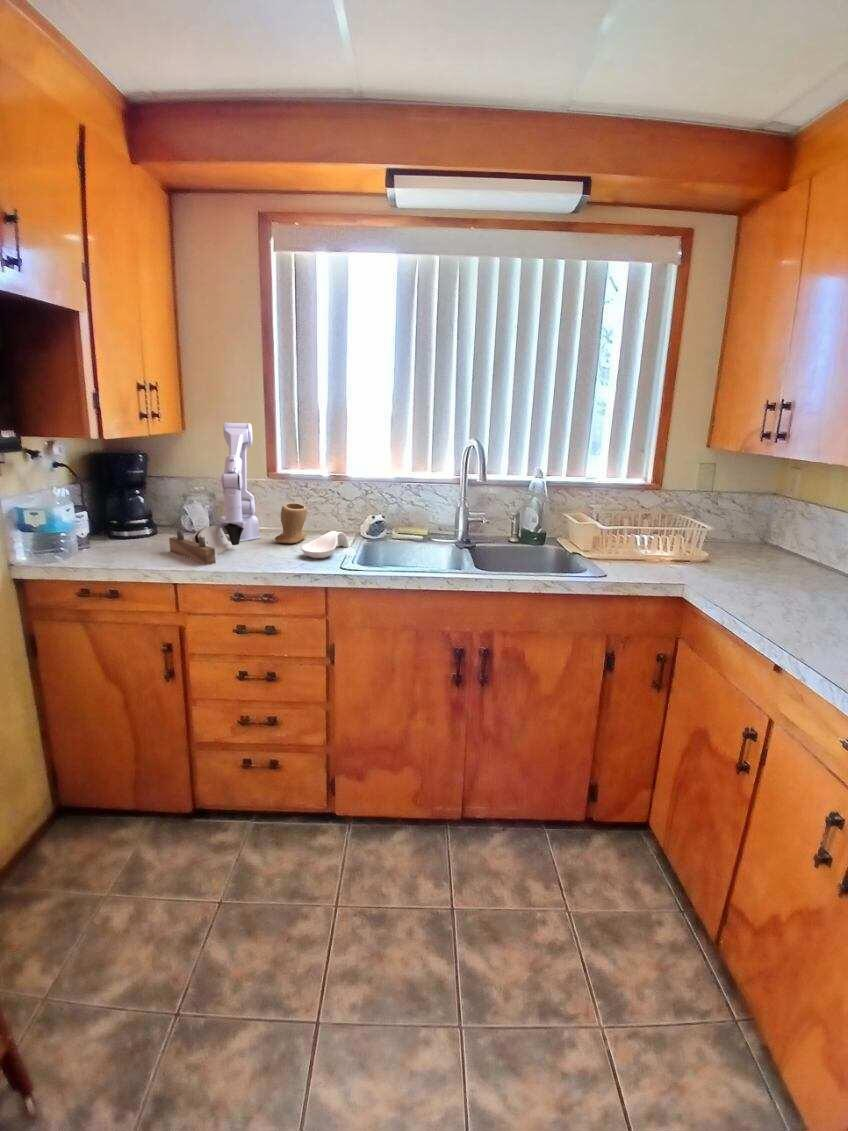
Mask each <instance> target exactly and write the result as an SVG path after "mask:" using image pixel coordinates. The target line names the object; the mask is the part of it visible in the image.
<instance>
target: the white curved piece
mask: <svg viewBox="0 0 848 1131" xmlns="http://www.w3.org/2000/svg"><path fill="white" fill-rule="evenodd" d="M226 536H227V535H226V534H225V532H224V530H223V528H222V527H221V526H219V525H211V526H206V527H203V528H201V529H199V530H198V531H196V532H194V534H193V536H191V539H192V540H191V541H193V542H196V543H199V539H198V538H199V537H205V546H209V547H212V548H215V556H217V555H219V554H218V553H220V554H222V553H224V552H226V551H227V549H228V550H230V549H231V548H234V545H232V544H231V541H230V540H228V538H227V537H226ZM229 548H230V549H229ZM225 550H226V551H225ZM223 551H224V552H223ZM221 552H222V553H221ZM216 554H217V555H216Z"/></svg>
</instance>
